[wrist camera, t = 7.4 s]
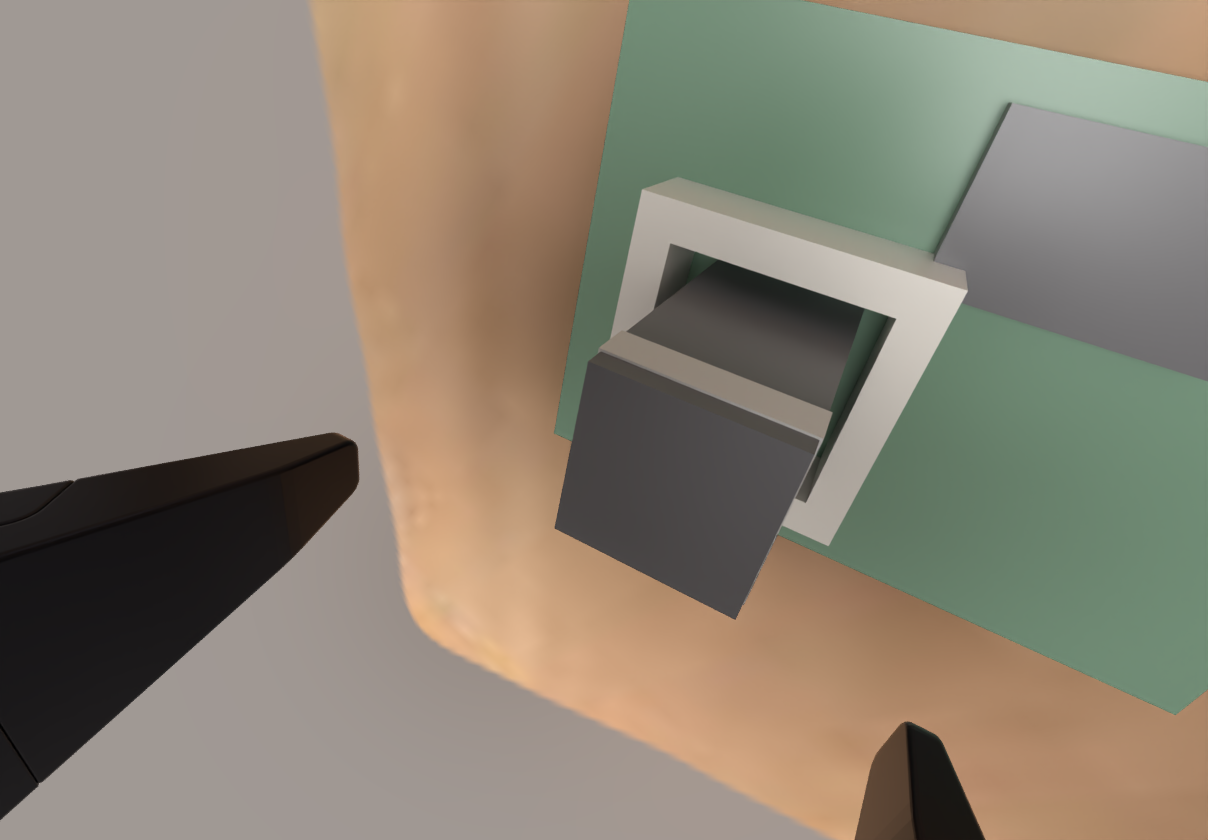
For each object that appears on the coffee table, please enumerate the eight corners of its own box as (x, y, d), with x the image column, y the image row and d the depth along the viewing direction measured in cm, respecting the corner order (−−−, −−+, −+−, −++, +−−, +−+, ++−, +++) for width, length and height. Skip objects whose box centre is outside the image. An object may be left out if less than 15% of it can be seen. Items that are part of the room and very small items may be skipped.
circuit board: (1734, 193, 10) (2049, 237, 7) (1163, 681, 18) (1206, 798, 15) (653, -26, 16) (588, -52, 13) (569, 419, 23) (516, 466, 21)
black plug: (867, 305, 16) (818, 453, 9) (809, 433, 18) (736, 622, 12) (719, 255, 17) (585, 357, 11) (681, 382, 19) (552, 528, 13)
